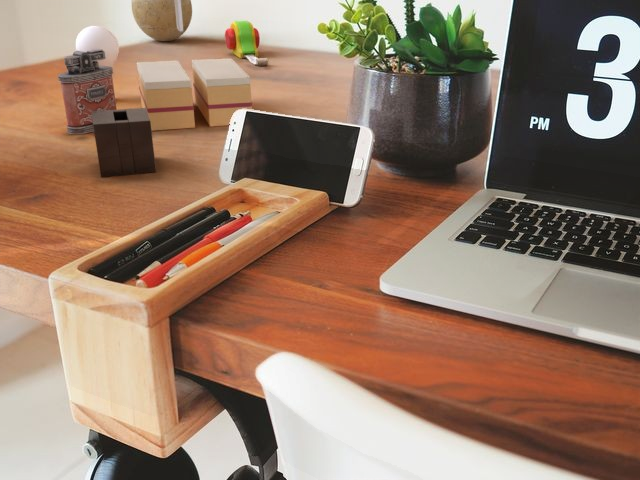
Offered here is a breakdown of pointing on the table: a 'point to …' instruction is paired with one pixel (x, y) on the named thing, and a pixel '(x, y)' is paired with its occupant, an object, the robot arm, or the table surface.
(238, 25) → the toy measuring tape
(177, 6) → the knife
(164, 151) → the table surface
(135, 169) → the knife block
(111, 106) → the lighter
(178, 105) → the cake
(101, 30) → the lightbulb
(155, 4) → the fossilized egg
